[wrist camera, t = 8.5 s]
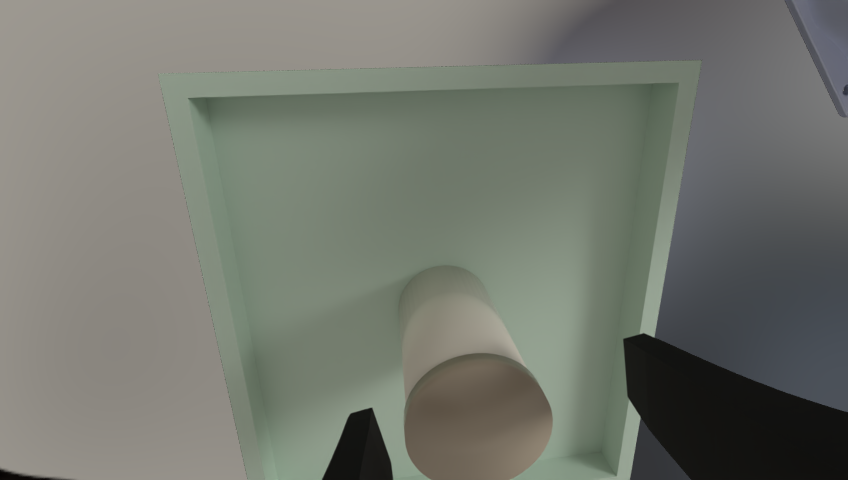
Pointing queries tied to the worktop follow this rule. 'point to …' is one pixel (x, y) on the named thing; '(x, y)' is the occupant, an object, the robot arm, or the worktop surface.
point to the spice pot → (466, 383)
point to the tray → (429, 237)
